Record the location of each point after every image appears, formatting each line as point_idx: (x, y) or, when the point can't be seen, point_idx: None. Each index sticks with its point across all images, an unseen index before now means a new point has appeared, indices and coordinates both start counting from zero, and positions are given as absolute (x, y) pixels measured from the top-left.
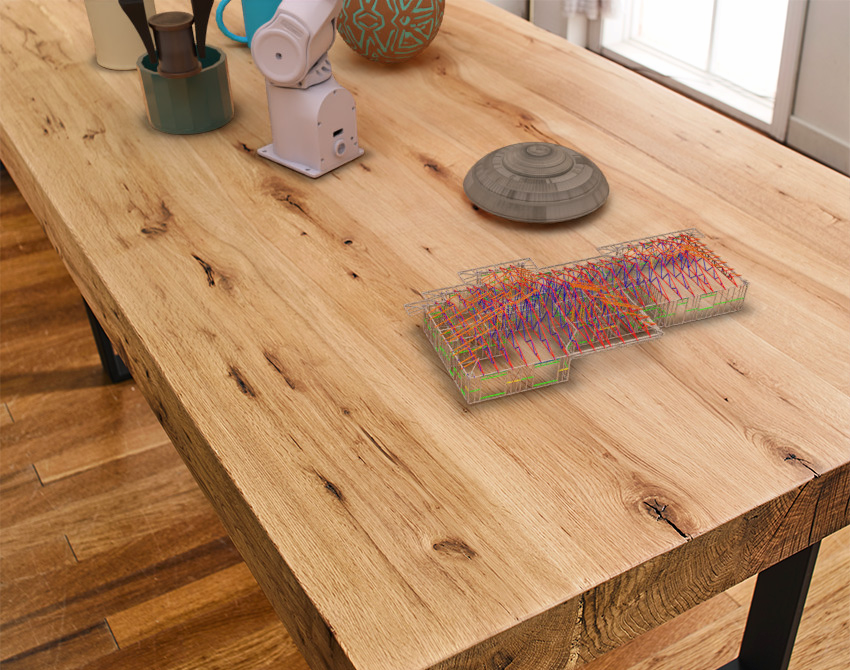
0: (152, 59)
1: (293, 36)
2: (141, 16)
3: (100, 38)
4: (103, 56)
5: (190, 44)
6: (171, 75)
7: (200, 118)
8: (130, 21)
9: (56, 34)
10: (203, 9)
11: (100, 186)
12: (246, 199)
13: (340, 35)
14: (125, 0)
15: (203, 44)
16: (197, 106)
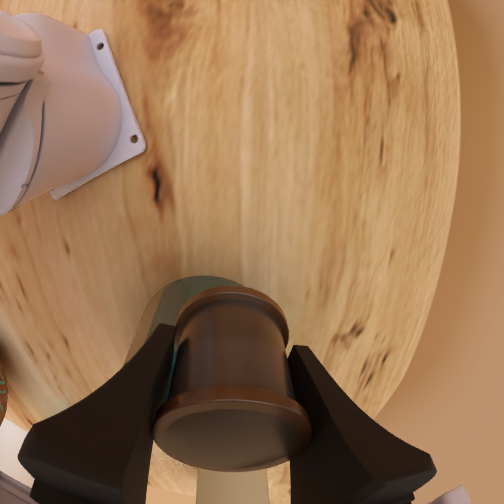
0: (308, 351)
1: None
2: (362, 443)
3: (264, 476)
4: None
5: (192, 353)
6: (269, 300)
7: (205, 288)
8: (231, 486)
9: (275, 488)
10: (96, 420)
11: (407, 177)
12: (226, 8)
13: (2, 378)
14: (410, 487)
15: (150, 343)
16: None
